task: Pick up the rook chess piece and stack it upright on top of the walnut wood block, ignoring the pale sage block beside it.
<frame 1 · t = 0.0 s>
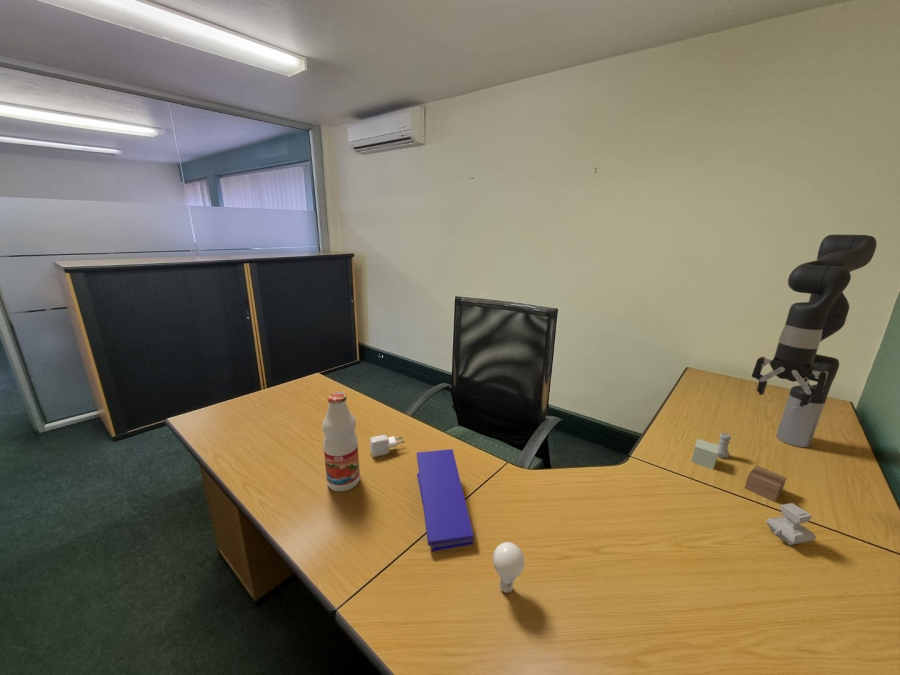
hand: (780, 399, 98), 29 cm above the table, fingers open, 8 cm apart
walnut block: (762, 490, 106), on the table
purple rectangular block: (441, 508, 97), on the table
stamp: (786, 538, 89), on the table
power adapter: (387, 451, 121), on the table
sage block: (702, 461, 119), on the table
lightbulb: (506, 589, 75), on the table
fruit juice: (343, 482, 106), on the table
rook chess piece: (720, 455, 122), on the table
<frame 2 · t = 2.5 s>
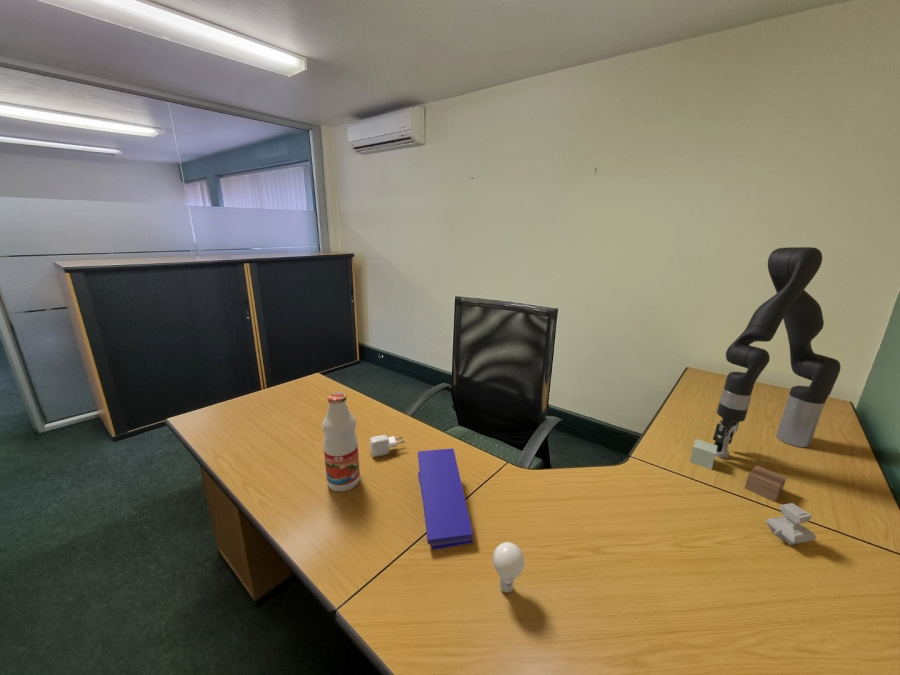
hand: (721, 446, 121), 3 cm above the table, fingers open, 8 cm apart
sage block: (701, 461, 119), on the table, touching gripper
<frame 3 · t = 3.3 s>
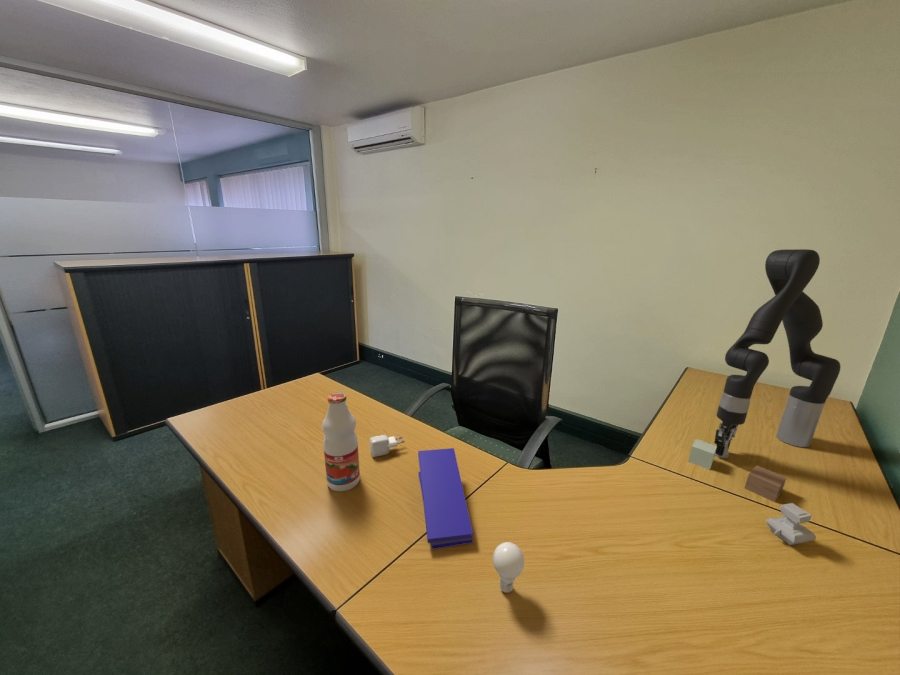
hand: (721, 451, 122), 1 cm above the table, fingers closed on rook chess piece, 4 cm apart
sage block: (700, 461, 119), on the table
rook chess piece: (720, 455, 122), on the table, touching gripper
everything else where it was.
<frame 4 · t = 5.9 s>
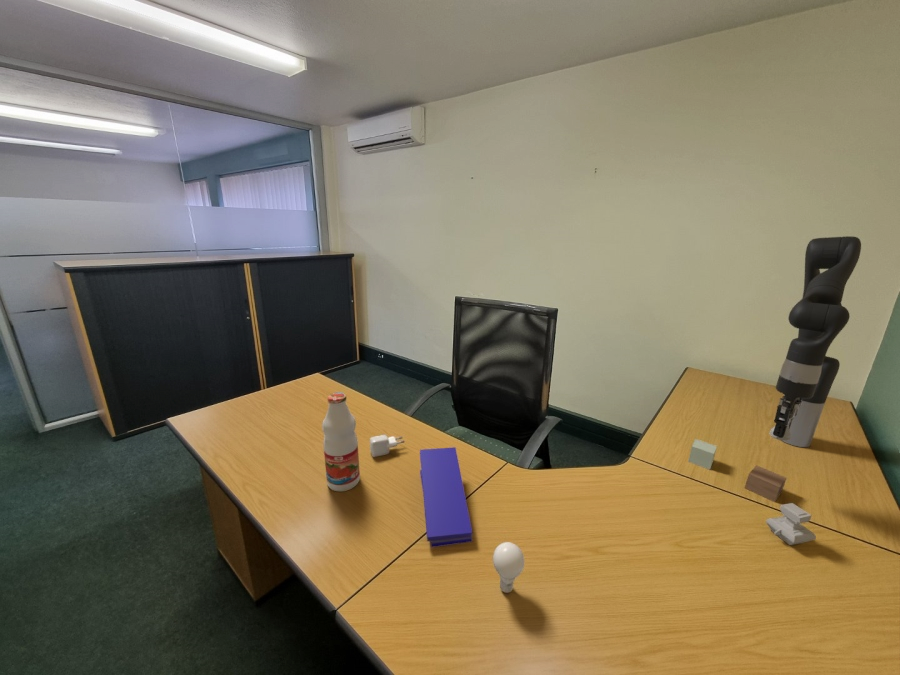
hand: (780, 433, 100), 19 cm above the table, fingers closed on rook chess piece, 4 cm apart
rook chess piece: (778, 437, 101), point 18 cm above the table, touching gripper
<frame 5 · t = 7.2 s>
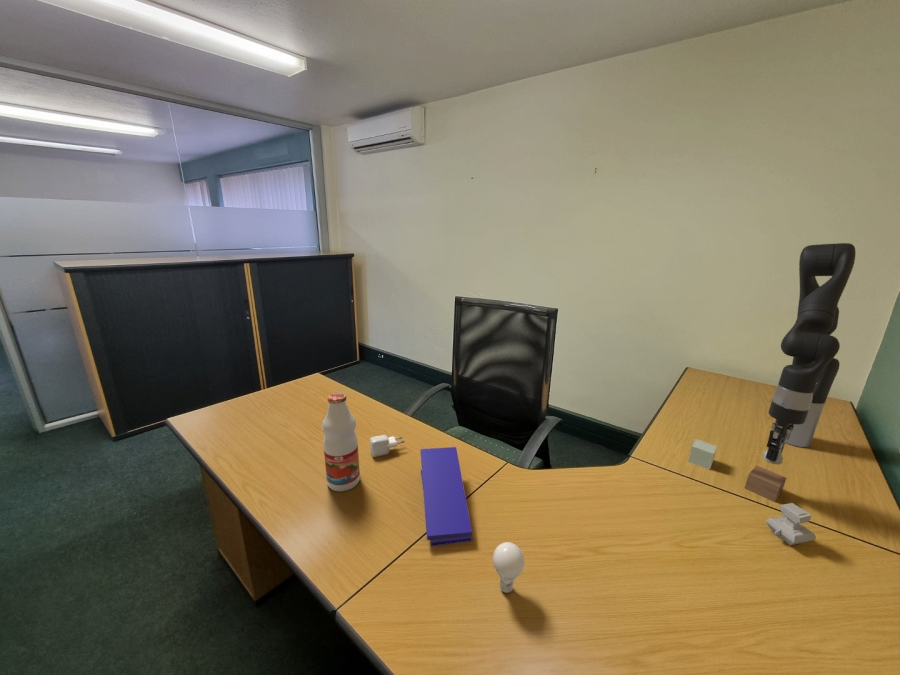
hand: (773, 456, 103), 11 cm above the table, fingers closed on rook chess piece, 4 cm apart
rook chess piece: (771, 461, 103), point 10 cm above the table, touching gripper
when the fingers open (7 cm above the table, at t = 8.4 s): rook chess piece stays where it is, resting on walnut block.
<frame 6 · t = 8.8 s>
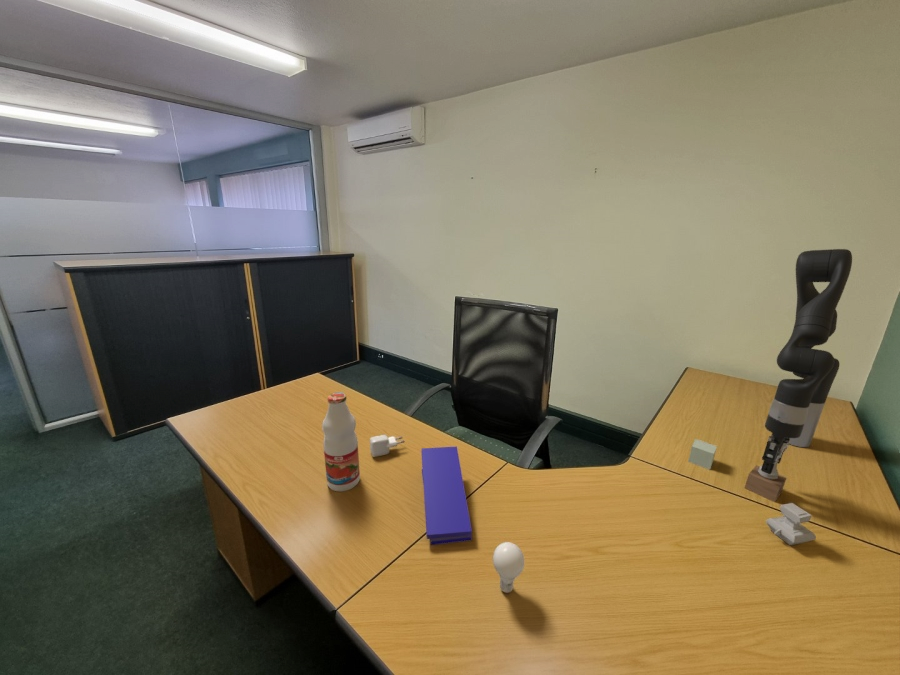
hand: (770, 466, 103), 8 cm above the table, fingers open, 8 cm apart
rook chess piece: (767, 475, 104), point 5 cm above the table, touching walnut block
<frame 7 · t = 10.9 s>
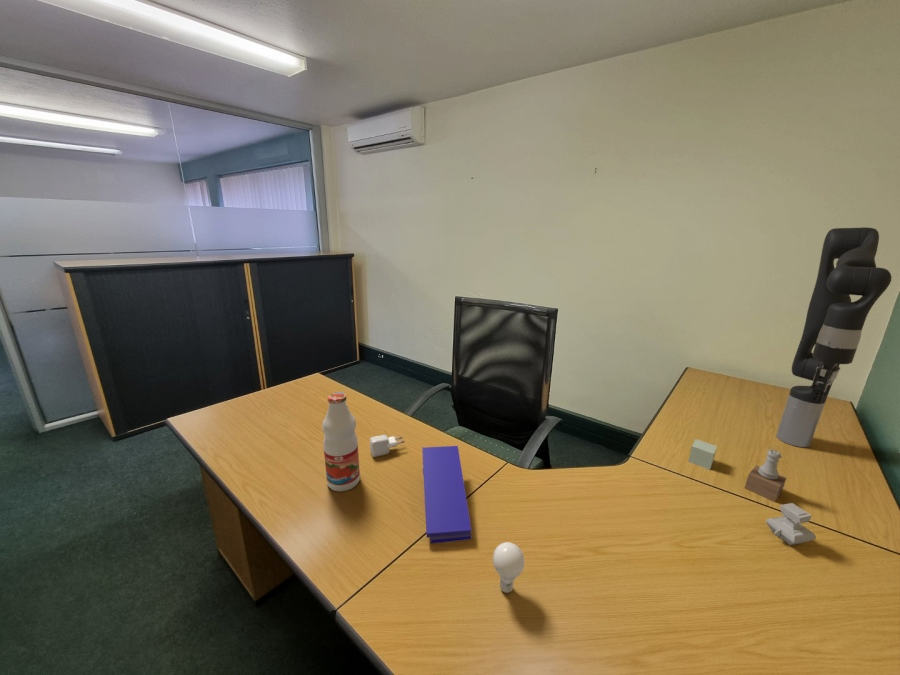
hand: (818, 398, 99), 29 cm above the table, fingers open, 8 cm apart
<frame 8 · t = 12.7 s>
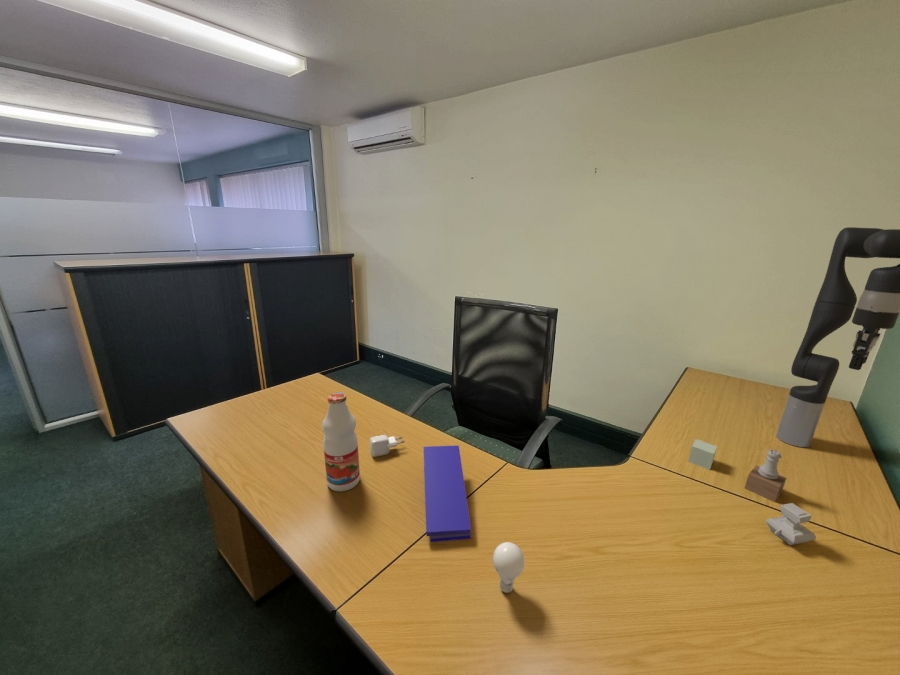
hand: (856, 365, 99), 38 cm above the table, fingers open, 8 cm apart
at the end: rook chess piece 0.2 cm off-centre on the walnut block, point 4.8 cm above the walnut block's base; rook chess piece tilted 0°; the gripper is holding nothing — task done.
